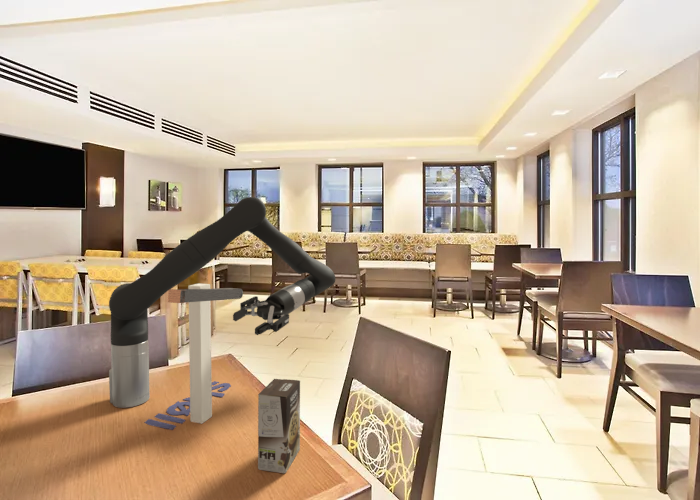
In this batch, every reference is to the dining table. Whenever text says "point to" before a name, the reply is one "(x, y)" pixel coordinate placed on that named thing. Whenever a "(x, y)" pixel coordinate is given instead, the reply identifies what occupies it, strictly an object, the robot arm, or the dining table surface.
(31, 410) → the dining table surface
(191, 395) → the stand
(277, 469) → the coffee box
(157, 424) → the signage
